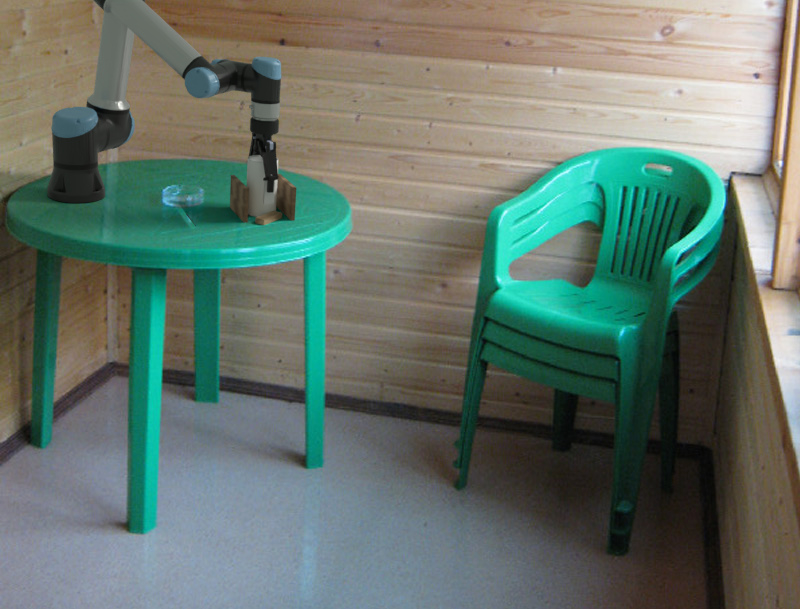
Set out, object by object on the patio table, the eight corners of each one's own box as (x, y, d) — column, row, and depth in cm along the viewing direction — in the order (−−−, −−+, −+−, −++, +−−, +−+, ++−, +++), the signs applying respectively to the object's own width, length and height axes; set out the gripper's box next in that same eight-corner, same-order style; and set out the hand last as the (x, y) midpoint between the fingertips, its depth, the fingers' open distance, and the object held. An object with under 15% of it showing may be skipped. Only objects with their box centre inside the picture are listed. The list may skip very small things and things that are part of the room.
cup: (242, 212, 289) (244, 154, 283) (271, 211, 292) (273, 154, 287) (250, 221, 282) (252, 162, 276) (279, 220, 285) (282, 162, 280)
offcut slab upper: (255, 223, 278) (255, 217, 277) (273, 215, 285) (273, 210, 285) (264, 225, 277) (264, 220, 276) (281, 218, 284) (282, 212, 284)
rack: (229, 210, 290) (230, 175, 286) (278, 208, 295) (280, 173, 292) (243, 225, 278) (245, 189, 274) (294, 223, 283) (296, 187, 280)
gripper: (238, 108, 286) (235, 185, 294) (264, 128, 266) (261, 210, 274) (264, 108, 289) (261, 184, 297) (292, 127, 269) (288, 209, 277)
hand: (261, 196), depth 285 cm, fingers open, 12 cm apart
